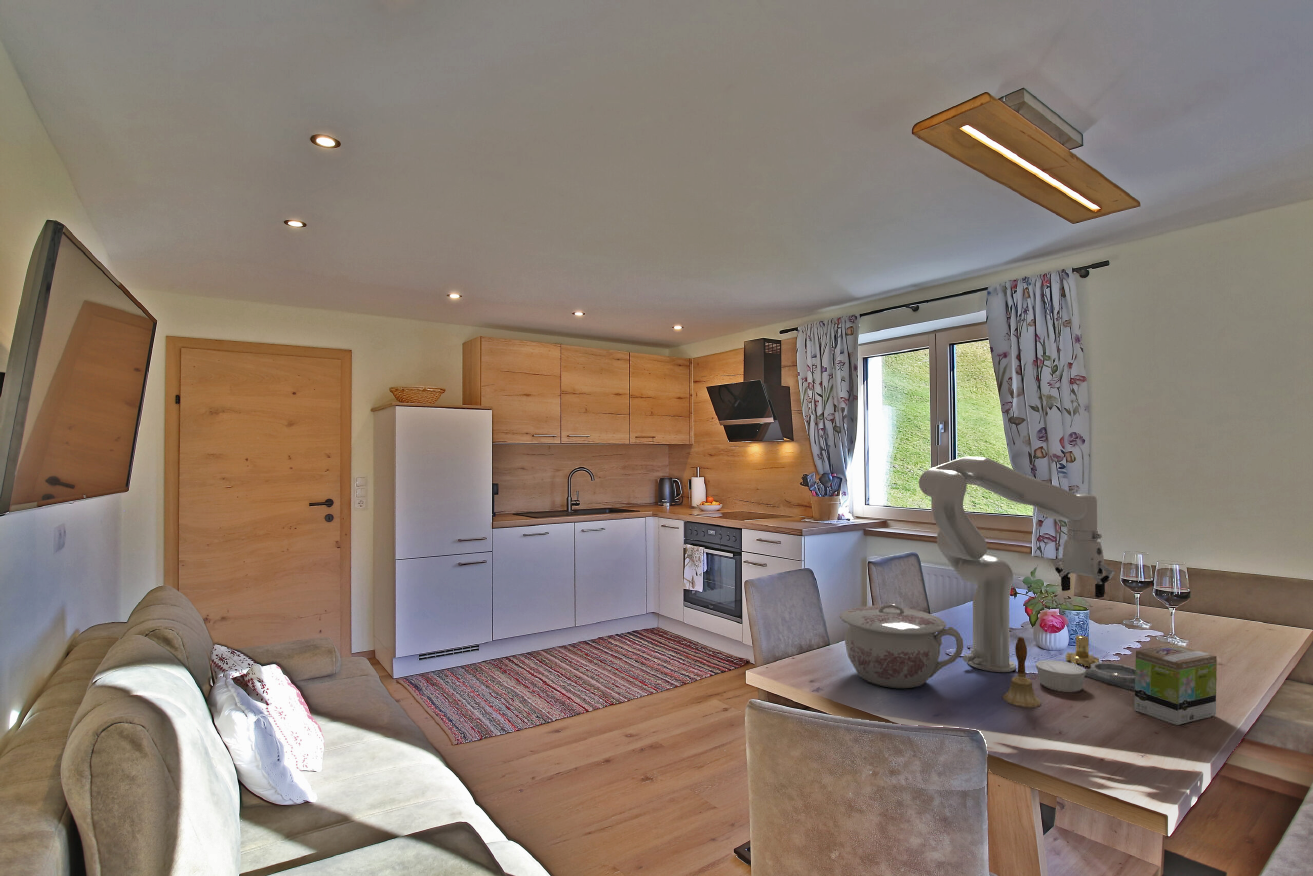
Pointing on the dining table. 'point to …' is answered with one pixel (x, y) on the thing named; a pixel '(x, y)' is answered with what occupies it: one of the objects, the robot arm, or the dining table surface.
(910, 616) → the chamber pot
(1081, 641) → the planet gear
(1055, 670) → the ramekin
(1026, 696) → the hand bell
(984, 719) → the dining table surface
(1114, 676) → the tray
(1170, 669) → the tea box
